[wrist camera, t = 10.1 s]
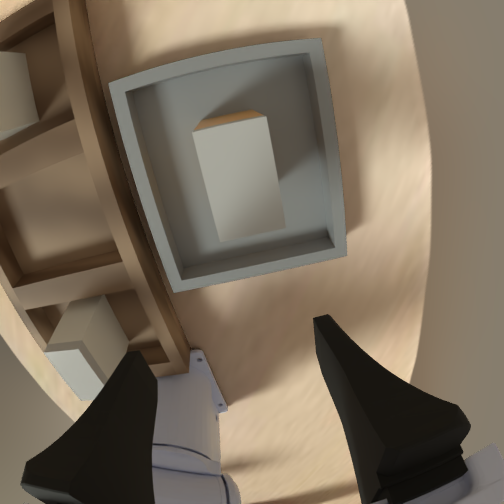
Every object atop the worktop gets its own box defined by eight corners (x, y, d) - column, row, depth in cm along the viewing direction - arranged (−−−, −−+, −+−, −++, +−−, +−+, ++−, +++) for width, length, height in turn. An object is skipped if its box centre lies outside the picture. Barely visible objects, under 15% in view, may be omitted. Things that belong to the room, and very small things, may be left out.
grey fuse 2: (129, 341, 24) (114, 399, 19) (99, 345, 24) (80, 400, 19) (103, 292, 22) (78, 348, 17) (71, 298, 22) (43, 352, 17)
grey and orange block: (267, 188, 20) (286, 228, 14) (219, 199, 20) (220, 242, 14) (252, 109, 17) (266, 116, 12) (200, 120, 17) (192, 132, 12)
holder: (190, 348, 26) (189, 372, 24) (75, 362, 26) (67, 384, 24) (84, -6, 13) (66, -17, 10) (-42, 73, 13) (-65, 76, 10)
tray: (336, 241, 23) (347, 255, 21) (177, 275, 23) (173, 293, 21) (310, 43, 16) (320, 37, 14) (120, 83, 16) (108, 83, 14)
